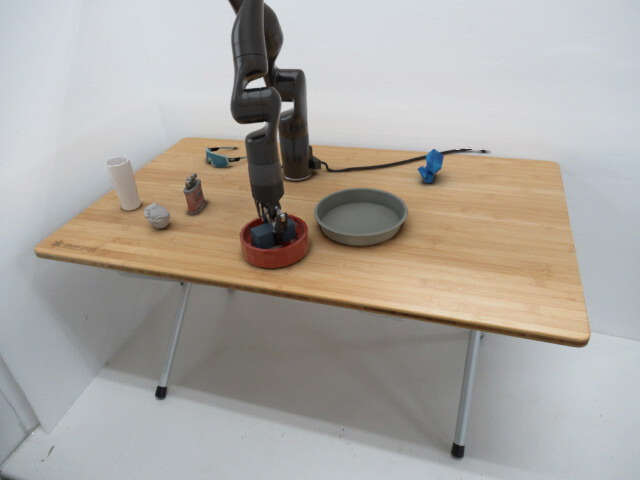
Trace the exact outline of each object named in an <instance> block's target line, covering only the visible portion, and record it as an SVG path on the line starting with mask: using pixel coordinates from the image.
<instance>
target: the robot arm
mask: <svg viewBox="0 0 640 480" xmlns="http://www.w3.org/2000/svg"><path fill="white" fill-rule="evenodd" d="M227 2H228V3H229V5H230V7H231V9H232V11H233V13H234V15H235V19H234V22H233V24H232V28H231V31H230V32H231V33H230V45H231V55H232V62H233V63H232V64H233V83H232V91H231V96H230V103H229V109H230V114H231V117H232V118H233V120H234V121H235V123H237V124H239V125H252V124H263V123H265V124H264V126H263V127H260V128H259V129H256V130H253V131H251V132H249V133H247V134H246V136H245V138H244V146H245V153H246V156H247V158H246V160H247V173H248V178H249V185H250V192H251V197H252V199H253V200H254V205H255V209H256V212H257V216H258V217H259V218H261V217H262V222H263V223H264V224H265V223H269V224H271V227H272V230H273V236H274V243H275V245H276V246H278V245H280V244H283V243H284V240H283V233H284V232H287V225H288V213H287V212H286V211H285V212H283V211H282V204H281V201H280V200H281V199H282V198H283V196H284V195H285V187H284V186H285V185H284V179H285V180H287V181H289V182H301V181H305V180H308V179H309V178H311V177H312V176H313V175H315V171H318V170H322V165H323V166H324V167H325V169H326V170H327V171H328V172H330V173H342V172H348V171H358V170H372V169H379V168H385V167H391V166H396V165H401V164H406V163H410V162H414V161H418V160H423V159H426V155H427V154H424V155H420V156H417V157H416V156H415V157H413V158H409V159H404V160H399V161H393V162H389V163H383V164H375V165H367V166H366V165H365V166H351V167H346V168H341V169H332V168H330V167H329V165H328V163H327V162H325V161H323V160H321V159H320V158H318V157H316V156H315V155H314V153H313V152H314V151H313V146H312V145H310V136H309V135H310V134H309V120H308V95H307V94H308V91H307V90H308V89H307V88H308V87H307V77H306V74H305V71H304V70H303V69H301V68H280V67H278V66H277V64H276V62H277V59H278V58H279V56H280V53H281V51H282V49H283V46H284V40H285V38H284V37H285V36H284V32H283V29H282V26H281V23H280V21H279V18H278V15H277V13H276V12H275V11H274V9H273V8H272V7H270V6H269V4H267V3H266V2H265V1H264V0H227ZM259 79H263V82H264V85H265V86H260V87H250V88H247V86H249V84H250V83H252V82H254V81H257V80H259ZM283 103H293V107H291V108H289V109H286V110H284V111H282V105H283ZM278 140H279V143H278ZM279 149H280V153H279ZM456 149H457V148H455V149H448V150H443V151H438V152H439V153H441V154H442V155H445V154H450V153H458V152H459V153H460V152H468V151H473V150H472V149H465V148H459V149H460V150H456ZM479 151H480V152H482V153H484V154H486V153H487V151H486V150H485V149H484V150H479ZM280 158H281V159H280ZM273 218H275V219H274V220H272V219H273ZM275 224H276V228H275Z"/></svg>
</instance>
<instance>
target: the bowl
mask: <svg viewBox="0 0 640 480" xmlns="http://www.w3.org/2000/svg"><path fill="white" fill-rule="evenodd" d="M287 214H288V213H287ZM288 218H289V219H291V220H292V221H293V222H294V223H295V229H296V238H295V239H293V240H290V241H287V242H285V243H283V244H280V245H278V246H275V247H272V248H269V249H260V248H256V247H255V246H254V244H253V242H252V236H251V230H250V229H251V228H254V227H257V226H260V225H262V224H264V223H263V222H262V217H261V218H259V216H258V217H256V218H253V219H252V220H250V221H249V222H247V223H245V224H244V226H243V227H242V228H241V230H240V232H239V239H240V245H241V250H242V256H243V258H244V259H245V260H246V261H247V263H249V264H251V265H253V266H256V267H259V268H265V269H277V268H281V267H282V268H283V267H287V266H290V265H292V264H295V263H297V262H298V261H299V260H301V259H302V258H304V257H305V255H306V254H307V253H308V251H309V249H310V237H309V227H308V224H307V222H306V221H304V220H303V219H302V218H301V217H298V216H296V215H294V214H288ZM274 219H275V218H273V219H272V220H274Z"/></svg>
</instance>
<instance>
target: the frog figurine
mask: <svg viewBox="0 0 640 480" xmlns="http://www.w3.org/2000/svg"><path fill="white" fill-rule="evenodd" d="M143 215H144V218H145V219H146V220H147V222H148V223H150V225H151V226H152V227H154V229H160V230H161V229H164V228H166V227H167V226H168V225H169V224H170V219H171V213H170V212H169V210H168V209H167V208H166V207H164V206H162V205H161V204H159V203H157V202H152V203H151V204H149V205H147V206H146V207H145V208H144V210H143Z"/></svg>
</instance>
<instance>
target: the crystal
mask: <svg viewBox="0 0 640 480" xmlns="http://www.w3.org/2000/svg"><path fill="white" fill-rule="evenodd" d="M439 152H440V151H438V150H437V149H436V148H432V150H430V151H429V152H428V153H427V154H425V155H426V158H425V165H421V166H419V167H418V168H417V171H418V173H419V174H420V176H421V178H422V179H423V182H424V183H425V184H433V182H434V178H435V177H434V176H435V175H436V174H437V173H438V172H439V171H440V170H442V168H443V163H444V159H445V158H444V157H445V156H444V154H441V153H439Z"/></svg>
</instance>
